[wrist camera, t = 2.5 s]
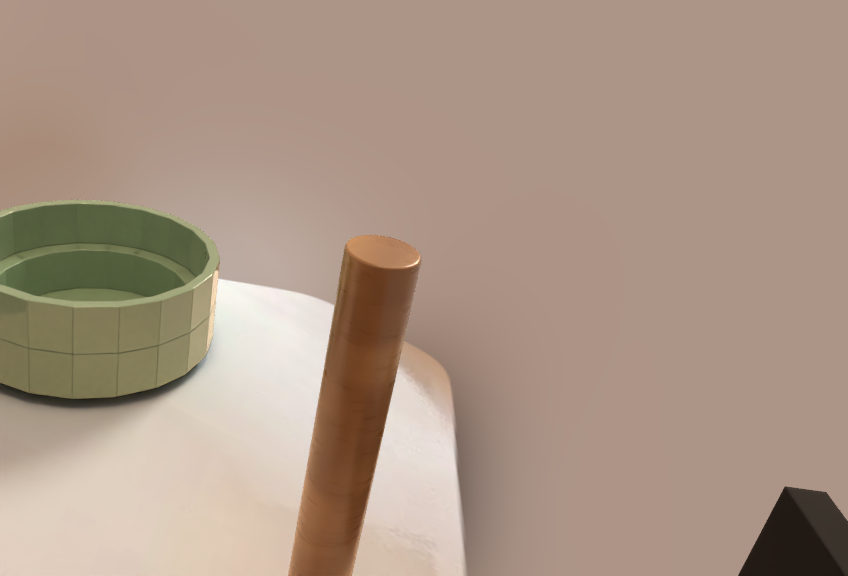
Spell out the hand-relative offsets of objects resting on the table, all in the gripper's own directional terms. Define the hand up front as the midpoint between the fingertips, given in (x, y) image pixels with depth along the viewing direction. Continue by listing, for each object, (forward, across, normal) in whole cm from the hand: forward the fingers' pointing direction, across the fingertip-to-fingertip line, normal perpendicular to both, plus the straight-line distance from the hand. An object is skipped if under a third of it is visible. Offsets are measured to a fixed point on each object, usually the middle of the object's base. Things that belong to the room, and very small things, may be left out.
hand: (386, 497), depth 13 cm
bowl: (+31, -14, -18) cm, 38 cm away
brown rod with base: (+11, 0, -18) cm, 21 cm away
